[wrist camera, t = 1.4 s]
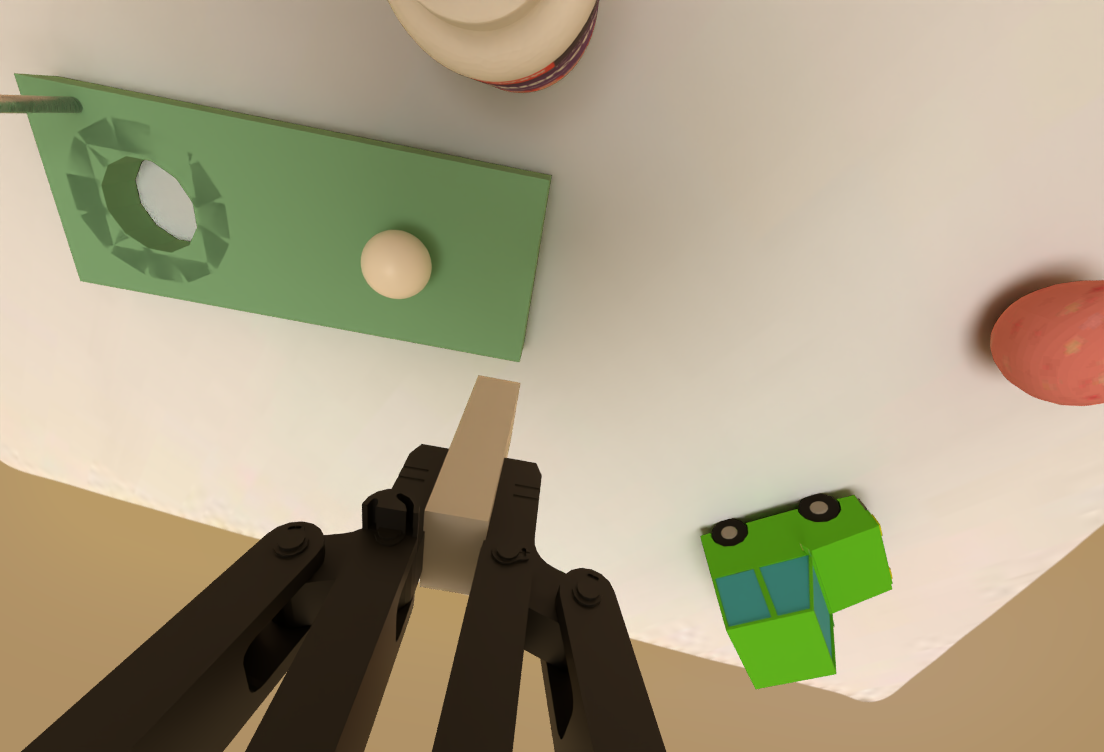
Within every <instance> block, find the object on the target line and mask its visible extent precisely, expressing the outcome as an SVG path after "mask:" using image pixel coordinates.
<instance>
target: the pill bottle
mask: <svg viewBox="0 0 1104 752" xmlns="http://www.w3.org/2000/svg"><path fill="white" fill-rule="evenodd" d="M388 2H389V4H390V6H391V8H392V10H393V11H394V13H395V15H396V16H397V18H398V20H399V21H400V23H401V24H402V26H403V27H404V28H405V30H406V31H407V32H408V34H409V35H410V36H411V37H412V38H413V39H414V40H415V42H416V43H417V44H418V45H419V46H420V47H421V48H422V49H423V50H424V51H425V52H426V53H427V54H428V55H430V56H431V57H432V58H433V59H434V60H436V61H437V62H439V63H440V64H441V65H443V66H445V67H446V68H448V69H450V70H452V71H454V72H456V73H458V74H460V75H463V76H466V77H469V78H471V79H474V80H477V81H480V82H483V83H485V84H488V85H491V86H494V87H496V88H499V89H502V90H505V91H510V92H518V93H526V92H534V91H538V90H542V89H545V88H547V87H549V86H551V85H553V84H555V83H556V82H558V81H559V80H561V79H562V78H563V77H565V76H566V75H567V74H568V73H569V72H570V71H571V70H572V69H573V68H574V66H575V65H576V64H577V63H578V61H579V60H580V58H581V57H582V55H583V53H584V52H585V50H586V48H587V46H588V44H589V41H590V39H591V36H592V33H593V30H594V26H595V22H596V17H597V11H598V5H599V0H388Z"/></svg>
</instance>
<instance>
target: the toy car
mask: <svg viewBox="0 0 1104 752" xmlns="http://www.w3.org/2000/svg"><path fill="white" fill-rule="evenodd" d="M799 510H800V514H799V512H798V509H795V510H791V511H788V512H784V513H780V514H777V515H773V516H770V517H766V518H763V519H759V520H755V521H752V522H748V523H746V525H747V527H746V526H745V525H744V524H743V523H742V522H741V521H738V520H736V519H727V520H724V521H721V522H719V523H717V524H716V526H715V527H714V528H713V530H712V535H711V533H709V534H705V535H702V536H700V537H701V541H702V545H703V548H704V552H705V555H706V559H707V563H708V566H709V570H710V574H711V577H712V581H713V584H714V588H715V592H716V595H717V599H718V603H719V606H720V610H721V614H722V617H723V621H724V624H725V628H726V631H727V633H728V635H729V637H730V639H731V641H732V643H733V645H734V647H735V649H736V651H737V653H738V655H739V657H740V659H741V661H742V663H743V665H744V667H745V669H746V671H747V673H748V675H749V677H750V679H751V681H752V683H753V685H754V687H755V689H760V688H765V687H770V686H776V685H781V684H786V683H792V682H797V681H802V680H808V679H813V678H818V677H823V676H829V675H834V674H836V661H835V645H834V630H833V626H834V622H833V614H832V613H835V612H837V611H840V610H842V609H845V608H847V607H850V606H852V605H854V604H857V603H859V602H862V601H864V600H867V599H869V598H872V597H874V596H877V595H879V594H882V593H884V592H887V591H889V590H892V586H891V584H893V583H892V574H891V569H890V568H889V566H888V562H887V557H886V553H885V549H884V545H883V540H882V536H883V535H882V531H881V527H880V524H879V523H878V521H877V520H876V518H875V517H874V516H873V514H872V515H871V514H870V512H869V511H868V510H867V508H866V507H865V505H864V504H863V503H862V502H861V501H860V499H859V498H858V499H857V498H856V497H855V495H852V496H848V497H844V498H840V499H837V501H836V500H835V499H833V498H832V497H831V496H827V495H824V494H815V495H811V496H808V497H806V498H804V499H803V500H802V501H801V503H800V505H799ZM747 528H748V530H747Z"/></svg>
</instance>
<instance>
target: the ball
mask: <svg viewBox="0 0 1104 752" xmlns="http://www.w3.org/2000/svg"><path fill="white" fill-rule="evenodd" d="M361 269H362V273H363V276H364V278H365V280H366V281H367V283H368V284H369V286H370V287H371V288H372V289H373V290H375V291H376V292H377V293H379V294H381V295H383V296H385V297H388V298H392V299H406V298H409V297H412V296H414V295H416V294H418V293H419V292H420V291H421V290H423V288H424V287H425V286H426V284H427V283H428V281H429V279H430V275H431V270H432V264H431V258H430V255H429V252H428V250H427V248H426V247H425V246H424V244H423V243H422V242H421V241H420V240H419V239H418V238H417V237H415V236H414V235H412V234H410V233H407V232H405V231H401V230H386V231H383V232H380V233H378V234H376V235H375V236H373V237H372V238H371V239H370V240H369V241H368V242H367V243H366V245H365V247H364V249H363V251H362V255H361Z"/></svg>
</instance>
